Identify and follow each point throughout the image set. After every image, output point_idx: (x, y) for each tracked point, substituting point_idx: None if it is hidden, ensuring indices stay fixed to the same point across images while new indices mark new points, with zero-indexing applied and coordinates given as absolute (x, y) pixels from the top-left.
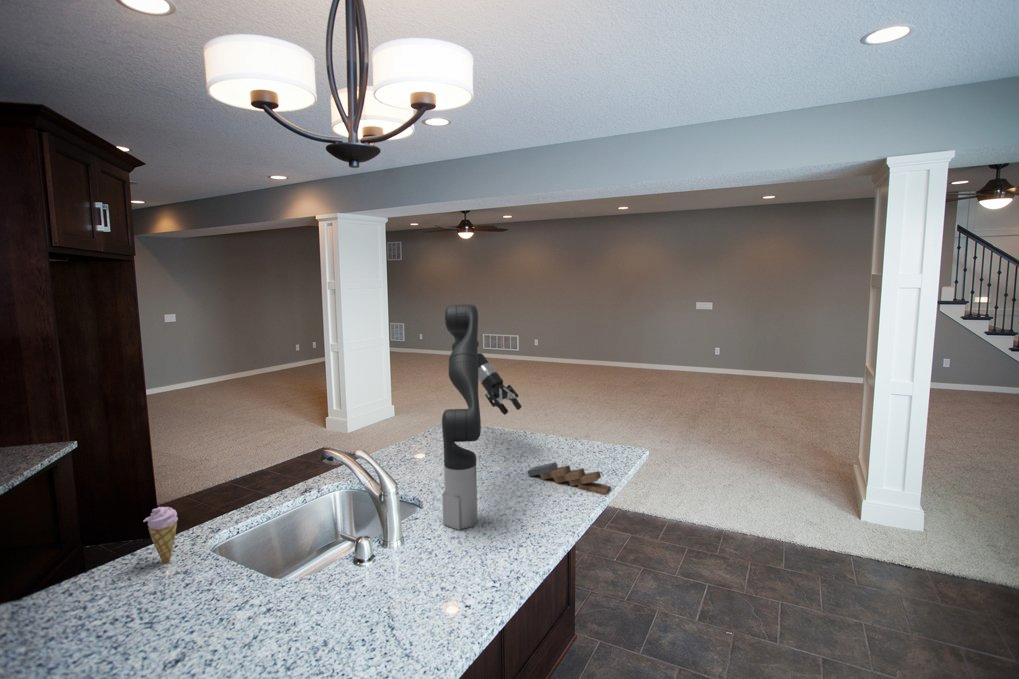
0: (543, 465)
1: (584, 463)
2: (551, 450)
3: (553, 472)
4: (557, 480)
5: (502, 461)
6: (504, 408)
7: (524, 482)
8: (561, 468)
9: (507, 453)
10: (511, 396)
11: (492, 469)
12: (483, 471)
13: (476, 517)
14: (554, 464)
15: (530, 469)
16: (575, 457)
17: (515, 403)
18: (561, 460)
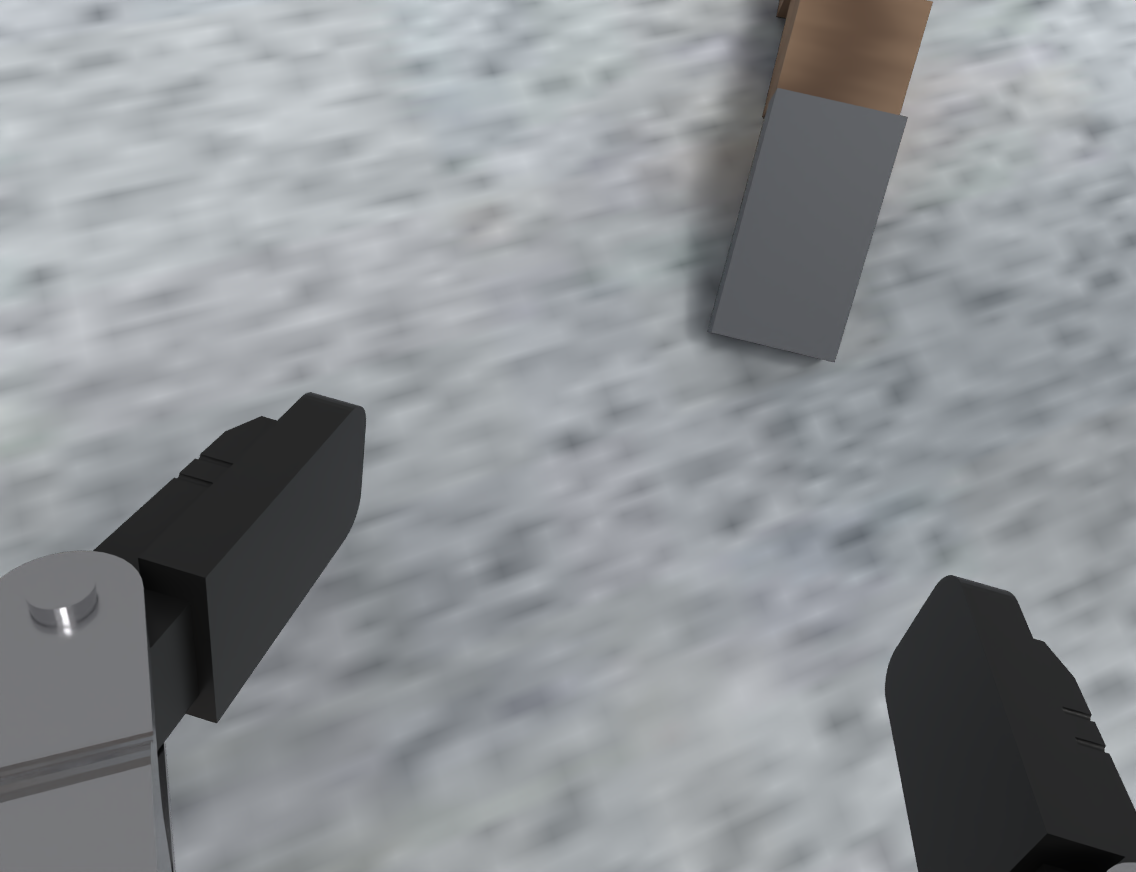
0: (773, 220)
1: (389, 34)
2: (123, 358)
3: (899, 103)
4: None
5: (553, 720)
6: (1033, 699)
7: (951, 358)
8: (866, 31)
9: (311, 758)
10: (156, 768)
11: (789, 734)
12: (869, 801)
13: None
14: (810, 98)
15: (792, 346)
16: (265, 124)
17: (273, 577)
18: (370, 212)
